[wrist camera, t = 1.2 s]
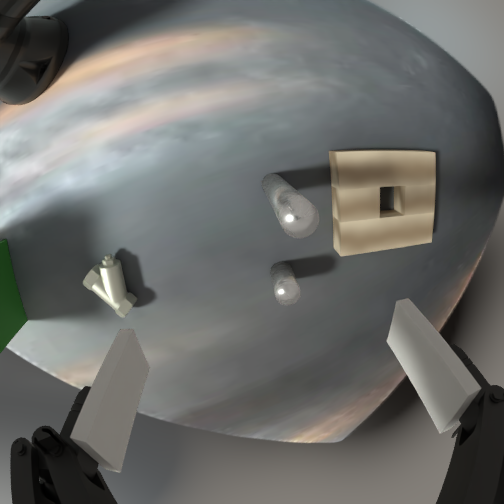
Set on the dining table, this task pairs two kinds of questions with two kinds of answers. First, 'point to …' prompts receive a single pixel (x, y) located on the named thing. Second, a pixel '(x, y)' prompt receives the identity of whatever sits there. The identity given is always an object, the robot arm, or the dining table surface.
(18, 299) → the hardback book
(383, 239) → the hole plate
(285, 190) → the long pin
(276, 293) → the short pin
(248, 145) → the dining table surface
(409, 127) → the dining table surface
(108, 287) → the pipe fitting
